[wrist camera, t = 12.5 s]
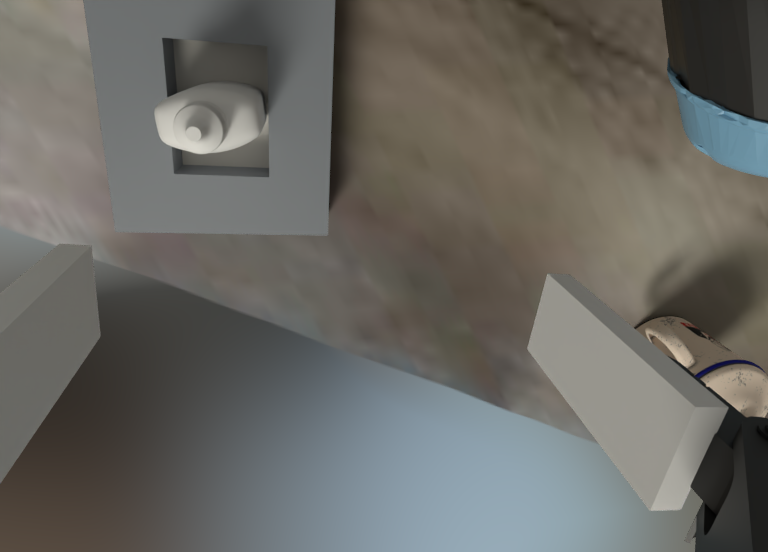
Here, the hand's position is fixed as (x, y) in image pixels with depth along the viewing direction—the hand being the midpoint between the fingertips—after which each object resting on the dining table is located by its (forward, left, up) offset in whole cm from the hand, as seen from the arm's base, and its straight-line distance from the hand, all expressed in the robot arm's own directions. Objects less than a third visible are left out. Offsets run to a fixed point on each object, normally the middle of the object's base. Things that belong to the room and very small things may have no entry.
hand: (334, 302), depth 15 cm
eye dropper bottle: (-3, -6, -24) cm, 25 cm away
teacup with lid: (+17, +33, -25) cm, 45 cm away
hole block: (-3, -6, -25) cm, 26 cm away
